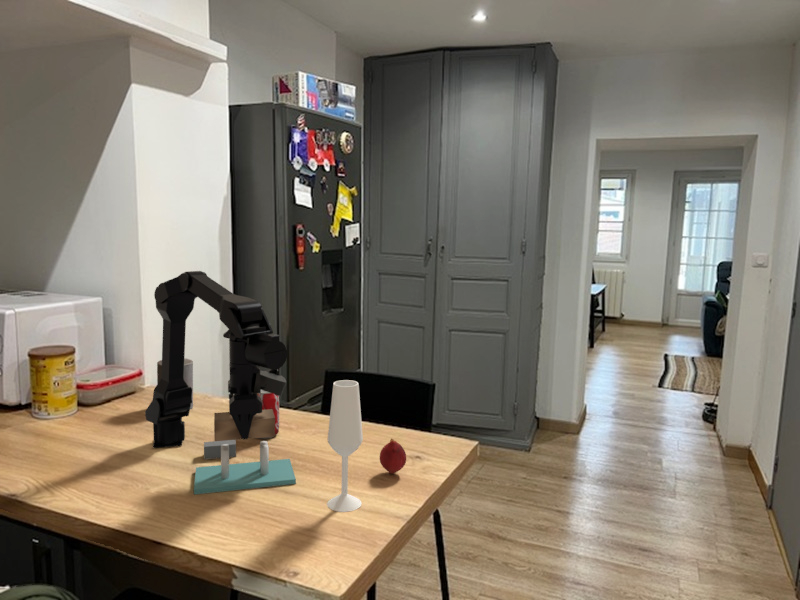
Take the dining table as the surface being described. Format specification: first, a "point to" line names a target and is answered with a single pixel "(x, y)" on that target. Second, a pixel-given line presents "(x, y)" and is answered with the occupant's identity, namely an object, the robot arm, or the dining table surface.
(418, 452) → the dining table surface
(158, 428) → the robot arm
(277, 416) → the soda can
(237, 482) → the peg stand
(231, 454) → the block
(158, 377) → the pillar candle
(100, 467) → the dining table surface
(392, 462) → the onion
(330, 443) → the champagne flute
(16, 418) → the dining table surface
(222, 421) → the shelf board
